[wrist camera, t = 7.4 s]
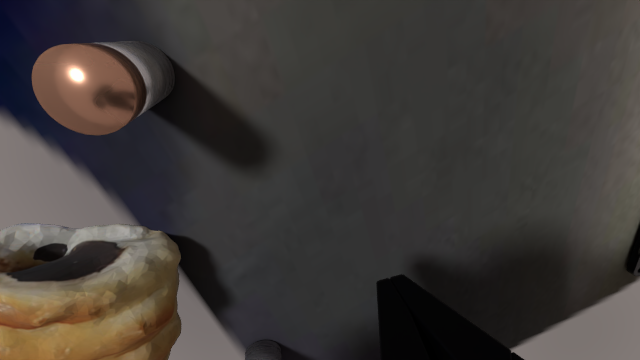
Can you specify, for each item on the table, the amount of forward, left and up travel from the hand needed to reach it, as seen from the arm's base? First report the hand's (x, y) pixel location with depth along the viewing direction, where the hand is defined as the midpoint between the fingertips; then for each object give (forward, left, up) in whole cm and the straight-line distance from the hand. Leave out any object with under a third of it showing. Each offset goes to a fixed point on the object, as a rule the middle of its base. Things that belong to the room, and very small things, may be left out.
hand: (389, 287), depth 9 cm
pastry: (+11, +1, -5) cm, 12 cm away
